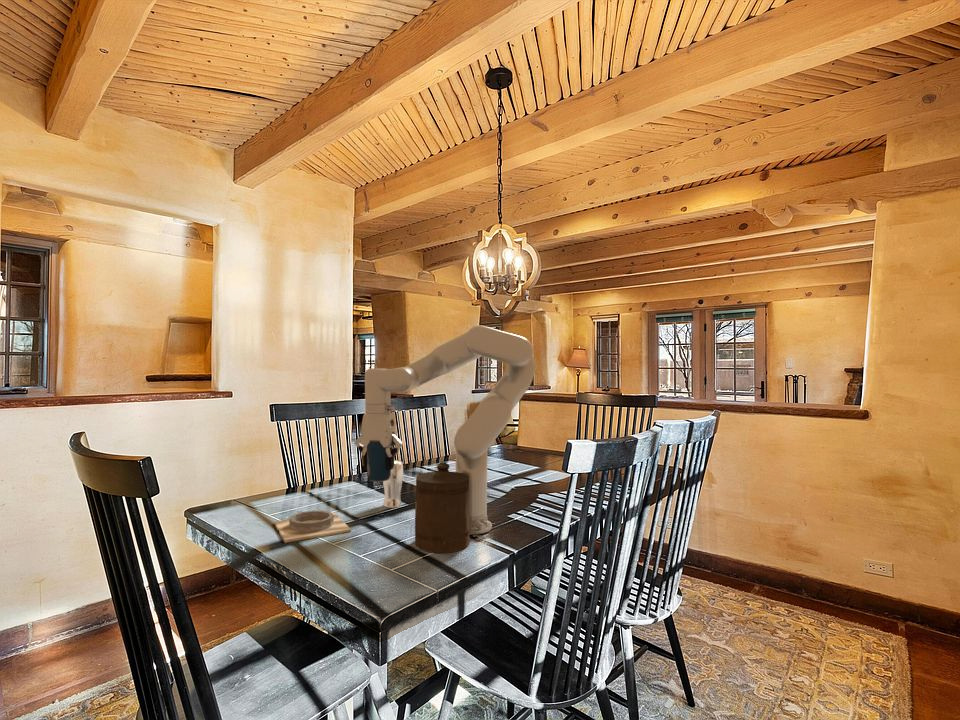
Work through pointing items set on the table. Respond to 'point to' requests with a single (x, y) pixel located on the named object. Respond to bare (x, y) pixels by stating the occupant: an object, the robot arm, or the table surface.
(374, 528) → the table surface
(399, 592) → the table surface
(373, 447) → the soda can
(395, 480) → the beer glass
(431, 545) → the wooden container
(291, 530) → the collar plate
